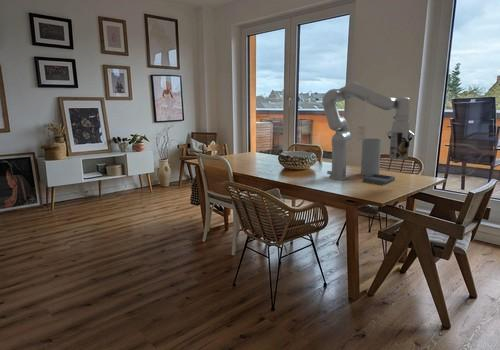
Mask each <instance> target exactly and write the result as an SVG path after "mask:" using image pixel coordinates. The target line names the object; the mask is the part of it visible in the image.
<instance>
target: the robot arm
mask: <svg viewBox="0 0 500 350" xmlns="http://www.w3.org/2000/svg"><path fill="white" fill-rule="evenodd" d="M351 98H355V99H358V100H360V101H362V102H364V103H367V104H369V105H371V106H373V107H377V108H379V109H380V110H384V111H391V110H395V115H394V116H392V119H394V120H393V122H392V125H391V129H390V131H388V132H386V136H387V137H388V139H389V140H390V141H391V134H392V133H403V135H402V137H403V138H405V139H406V144H405V148H408V147H409V148H410V142H411V141H412V140H413V139H414V138H415V137H416V134H415V133H413V132H412V131H411V123H410V122H411V121H410V119H409V118H410V107H411V99H410V98H409V97H398V98H397V97H392V96H391V97H388V96H386V95H383V94H380V93H378V92H376V91H375V90H373V89H372V88H370V87H367V86H364V85H362V84H360V83H359V82H356V81H349V82H347V83H346V84H345V85H344V86H342V87H340V88H332V89H329V90H328V91H327V92H325V93H324V96H323V97H322V107H323V110H324V113H325V118H326V120H327V125H328V127H329V129H330V130H331V131H335V132H334V134H333V135H332V138H331V149H332V150H331V170H327V171H326V174H327V175H329V176H328V178H329V179H330V180H335V181H343V180H348V179H349V176H348V175H347V155H348V153H347V152H348V151H347V150H348V148H347V145H348V144H349V143H350V142H351V141H352V135H351V131H350V128H349V125H348V122H347V119H346V118H345V117H343V116H341V115H340V114H339V113H340V112H339V109H338V107H337V105H336V103H340V102H343V101H346V100H348V99H351ZM408 134H409V136H410V138H409V137H408ZM389 143H390V145H391V142H389Z"/></svg>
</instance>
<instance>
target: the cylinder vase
mask: <svg viewBox="0 0 500 350" xmlns="http://www.w3.org/2000/svg"><path fill="white" fill-rule="evenodd" d="M361 141H362V142H361V143H362V144H361V163H360V174H361V175H362V176H363V177H366V176H369V175H371V174H380V168H381V167H380V166H381V151H382V139H381V138H363V139H362V140H361Z"/></svg>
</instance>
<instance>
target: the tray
mask: <svg viewBox="0 0 500 350" xmlns="http://www.w3.org/2000/svg"><path fill="white" fill-rule="evenodd" d="M395 179H396V176H394V175H393V176H392V175H385V174H380V173H379V174H371V175H369V176H363V177H362V182H365V183H371V184H376V185H383V186H385V185H387V184H390V183H393V182H394V181H396V180H395Z"/></svg>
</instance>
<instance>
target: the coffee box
mask: <svg viewBox="0 0 500 350" xmlns="http://www.w3.org/2000/svg"><path fill="white" fill-rule="evenodd" d="M402 135H403V133H392V134H390V136H391V140H390V143H391V145H390V148H389V155H388V157H389V159H393V160H396V161H397V160H407V159H408V158H409V148H410V146H409V147H408V148H405V144H406V139H405V138H403V137H402ZM408 137H409V138H410V137H411V135H410V136H409V134H408Z"/></svg>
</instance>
